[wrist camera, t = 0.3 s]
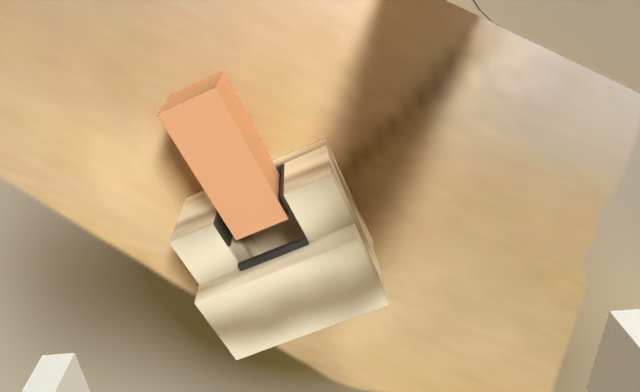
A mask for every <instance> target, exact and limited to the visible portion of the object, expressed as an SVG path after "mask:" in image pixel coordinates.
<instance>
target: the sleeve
mask: <svg viewBox="0 0 640 392" xmlns="http://www.w3.org/2000/svg"><path fill="white" fill-rule="evenodd" d="M273 163H274V165H275V167H276V169H277V171H278V173H279V174H280V176H281V187H280V197H281V199H282V201H283V203H284V205H285V207H286V208H287V210H288V220H285V221H283V222H280V223H278V224H275V225H273V226H270V227H268V228H265V229H263V230H261V231H258V232H256V233H253V234H251V235H248V236H246V237H243V238H241V239H238V240H235V238H234V236H233V235H232V233H231V232H230V230H229V228H228V227H227V225H226V224H225V222H224V221H223V219H222V217H221V216H220V214H219V213H218V211H217V210H216V208H215V206H214V205H213V203H212V202H211V200H210V198H209V197H208V195H207V194H206V192H205V191H204V190H203V191H200V192H198V193H196V194H193V195H191V196H189V197H186V200H185V203H184V205H183V208H182V210H181V213H180V215H179V218H178V221H177V223H176V226H175V228H174V231H173V234H172V236H171V239H170V241H169V243H170V245H171V246H172V248H173V249H174V250H175V252H176V253H177V255H178V256H179V257H180V259H181V260H182V262H183V263H184V264H185V266H186V267H187V269H188V270H189V271H190V273H191V274H192V276H193V277H194V278H195V280H196V281H197V282H198V284H199V287H198V291H197V295H196V299H195V305H196V306H197V307H198V309H199V310H200V312H201V313H202V314H203V316H204V317H205V319H206V320H207V321H208V323H209V324H210V325H211V326H212V328H213V329H214V331H215V332H216V333H217V335H218V336H219V337H220V339H221V340H222V341H223V343H224V344H225V345H226V347H227V348H228V350H229V351H230V352H231V354H232V355H233V356H234V358H235V359H236V360H238V359H241V358H244V357H246V356H249V355H252V354H255V353H257V352H260V351H263V350H265V349H268V348H271V347H274V346H277V345H279V344H282V343H285V342H288V341H290V340H293V339H296V338H299V337H301V336H304V335H307V334H310V333H312V332H315V331H318V330H321V329H323V328H326V327H329V326H332V325H334V324H337V323H340V322H343V321H345V320H348V319H351V318H354V317H356V316H359V315H362V314H365V313H367V312H370V311H373V310H376V309H378V308H381V307H384V306H387V305H389V302H388V298H387V294H386V291H385V287H384V283H383V279H382V275H381V271H380V267H379V264H378V260H377V256H376V252H375V248H374V244H373V240H372V237H371V235H370V233H369V231H368V229H367V227H366V224H365V222H364V220H363V218H362V216H361V214H360V211H359V209H358V207H357V205H356V203H355V201H354V199H353V196H352V194H351V192H350V190H349V188H348V186H347V183H346V181H345V179H344V177H343V175H342V173H341V171H340V168H339V166H338V164H337V162H336V160H335V158H334V156H333V153H332V151H331V149H330V147H329V145H328V143H327V140H326V138H324V139H322V140H320V141H317V142H315V143H313V144H310V145H308V146H306V147H303V148H301V149H299V150H296V151H294V152H292V153H289V154H287V155H285V156H282V157H280V158H278V159H275V160H273Z"/></svg>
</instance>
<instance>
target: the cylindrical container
mask: <svg viewBox="0 0 640 392" xmlns="http://www.w3.org/2000/svg"><path fill="white" fill-rule="evenodd" d="M446 1H448V2H450V3H452V4H454V5H456V6H459V7H461V8H463V9H465V10H467V11H469V12H471V13H473V14H475V15H477V16H479V17H482V18H484V19H486V20H488V21H490V22H492V23H494V24H496V25H498V26H500V27H503V28H505V29H507V30H509V31H511V32H513V33H515V34H517V35H519V36H521V37H523V38H526V39H528V40H530V41H532V42H534V43H536V44H538V45H540V46H542V47H544V48H546V49H549V50H551V51H553V52H555V53H557V54H559V55H561V56H563V57H565V58H567V59H569V60H572V61H574V62H576V63H578V64H580V65H582V66H584V67H586V68H588V69H590V70H593V71H595V72H597V73H599V74H601V75H603V76H605V77H607V78H609V79H611V80H613V81H616V82H618V83H620V84H622V85H624V86H626V87H628V88H630V89H632V90H634V91H636V92H639V93H640V0H446Z"/></svg>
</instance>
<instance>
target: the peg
mask: <svg viewBox="0 0 640 392" xmlns="http://www.w3.org/2000/svg"><path fill="white" fill-rule="evenodd" d="M157 116H158V118H159V119H160V121H161V123H162V124H163V126H164V127H165V129H166V131H167V132H168V134H169V135H170V137H171V138H172V140H173V142H174V143H175V145H176V146H177V148H178V149H179V151H180V153H181V154H182V156H183V157H184V159H185V161H186V162H187V164H188V165H189V167H190V168H191V170H192V172H193V173H194V175H195V176H196V178H197V179H198V181H199V183H200V184H201V186H202V187H203V189H204V191H205V192H206V194H207V195H208V197H209V198H210V200H211V202H212V203H213V205H214V206H215V208H216V210H217V211H218V213H219V214H220V216H221V217H222V219H223V221H224V222H225V224H226V225H227V227H228V228H229V230H230V232H231V233H232V235H233V236H234V238H235V240H238V239H241V238H243V237H246V236H248V235H251V234H253V233H256V232H258V231H261V230H263V229H265V228H268V227H270V226H273V225H275V224H278V223H280V222H283V221H285V220H288V210H287V208H286V207H285V205H284V203H283V201H282V199H281V197H280V187H281V176H280V174H279V173H278V171H277V169H276V167H275V165H274V163H273V161H272V160H271V158H270V156H269V154H268V152H267V150H266V148H265V146H264V145H263V143H262V141H261V139H260V137H259V135H258V133H257V132H256V130H255V128H254V126H253V124H252V122H251V120H250V119H249V117H248V115H247V113H246V111H245V109H244V107H243V105H242V104H241V102H240V100H239V98H238V96H237V94H236V92H235V91H234V89H233V87H232V85H231V83H230V81H229V79H228V77H227V76H226V74H225V72H224V70H223V71H221V72H219V73H216V74H214V75H212V76H210V77H208V78H206V79H204V80H201V81H199V82H197V83H195V84H193V85H191V86H189V87H186V88H184V89H182V90H180V91H178V92H176V93H173V94H171V95H170V96H169V98H168V99H167V101H166V102H165V103H164V105H163V106H162V108H161V109H160V110H159V112H158V113H157Z"/></svg>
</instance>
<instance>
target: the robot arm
mask: <svg viewBox="0 0 640 392" xmlns="http://www.w3.org/2000/svg"><path fill="white" fill-rule="evenodd" d="M586 388H587V389H588V391H589V392H640V309H633V310H620V311H610V312H609V315H608V319H607V322H606V325H605V328H604V332H603V335H602V338H601V341H600V344H599V348H598V351H597V354H596V357H595V361H594V364H593V367H592V370H591V374H590V377H589V380H588V384H587V387H586ZM22 392H90V390H89V388H88V385H87V383H86V380H85V378H84V375H83V373H82V370H81V368H80V366H79V363H78V361H77V358H76V356H75V353H68V354H56V355H43V356H42V357H41V359H40V361H39V363H38V364H37V366H36V368H35V369H34V371H33V373H32V375H31V376H30V378H29V380H28V382H27V383H26V385H25V387H24V389H23V390H22Z"/></svg>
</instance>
